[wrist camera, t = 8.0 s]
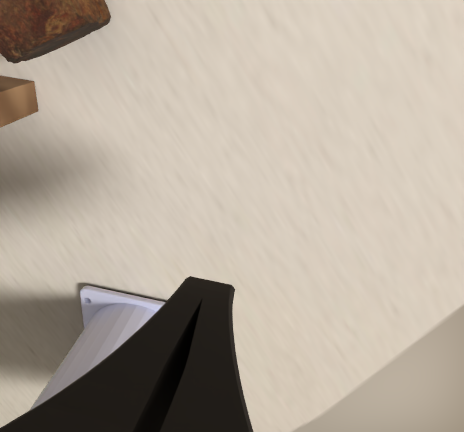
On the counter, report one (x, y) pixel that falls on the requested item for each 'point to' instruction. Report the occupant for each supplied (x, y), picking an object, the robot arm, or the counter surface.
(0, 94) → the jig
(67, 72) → the counter surface
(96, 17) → the brick
